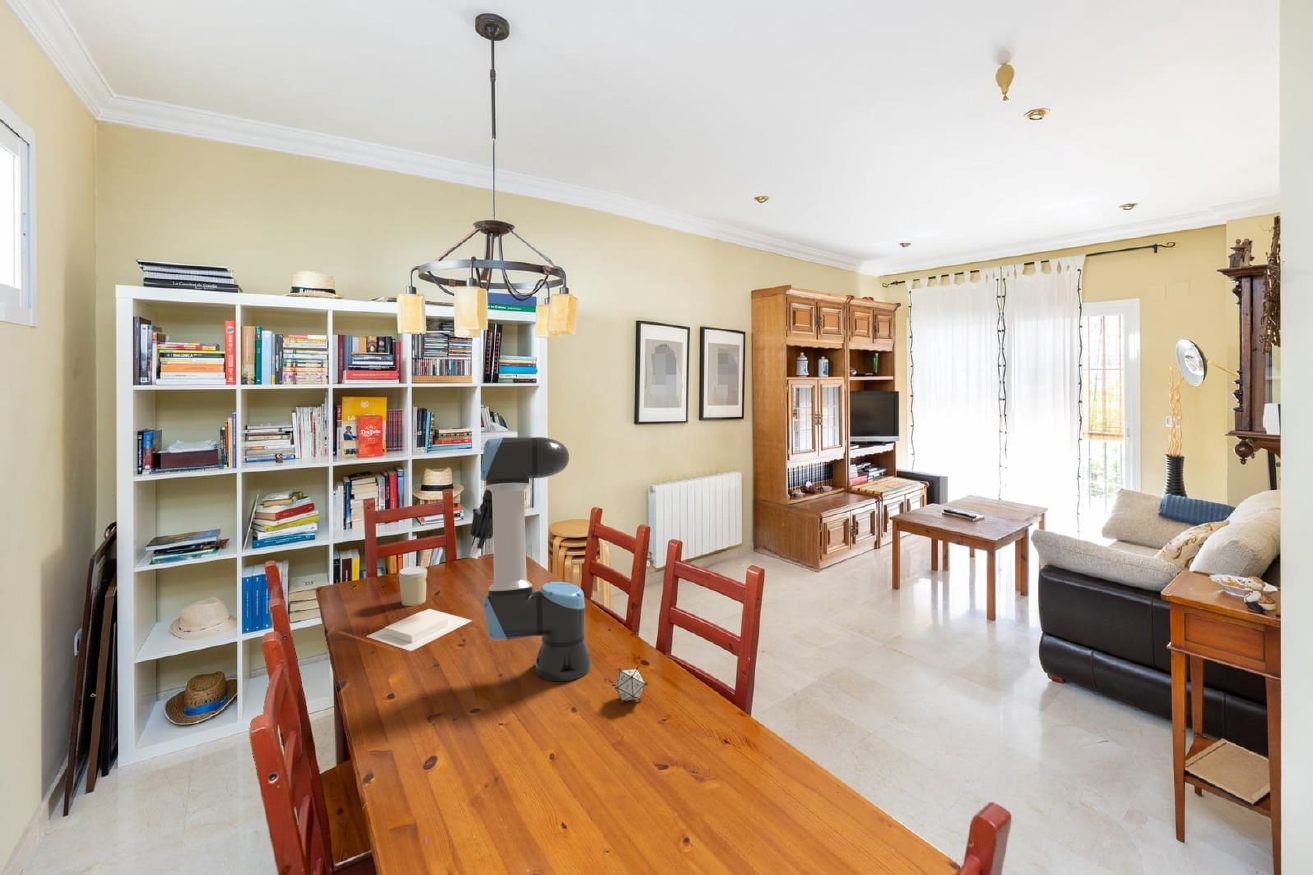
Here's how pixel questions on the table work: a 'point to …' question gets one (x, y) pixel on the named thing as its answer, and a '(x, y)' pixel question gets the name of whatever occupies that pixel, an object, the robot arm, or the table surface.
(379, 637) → the mat
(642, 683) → the game die
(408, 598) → the coffee cup
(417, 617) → the tile
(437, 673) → the table surface
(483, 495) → the robot arm
